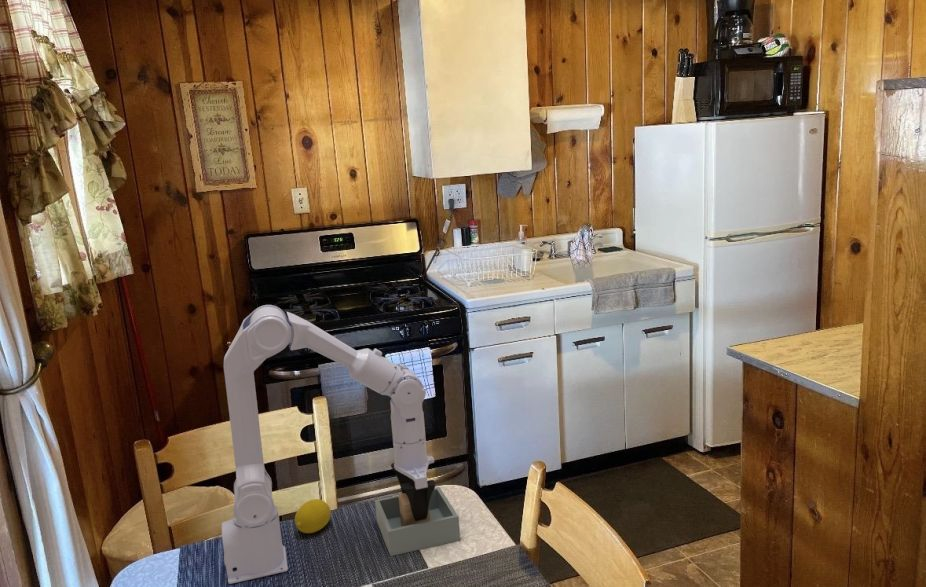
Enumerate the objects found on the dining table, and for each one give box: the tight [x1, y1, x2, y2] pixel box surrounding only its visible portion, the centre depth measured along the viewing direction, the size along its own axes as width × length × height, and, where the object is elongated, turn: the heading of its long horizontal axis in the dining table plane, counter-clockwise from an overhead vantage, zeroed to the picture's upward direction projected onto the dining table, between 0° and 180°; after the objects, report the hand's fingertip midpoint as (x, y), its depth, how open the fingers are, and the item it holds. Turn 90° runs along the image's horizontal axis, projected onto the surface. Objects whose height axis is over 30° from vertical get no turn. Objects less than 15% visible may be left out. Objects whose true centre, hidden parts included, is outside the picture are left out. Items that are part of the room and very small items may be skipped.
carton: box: [397, 493, 430, 527], centre depth 127 cm, size 4×4×6 cm
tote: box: [374, 486, 461, 557], centre depth 127 cm, size 12×12×4 cm
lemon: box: [294, 498, 332, 534], centre depth 130 cm, size 6×6×8 cm
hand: (415, 509), depth 127 cm, fingers open, 7 cm apart
